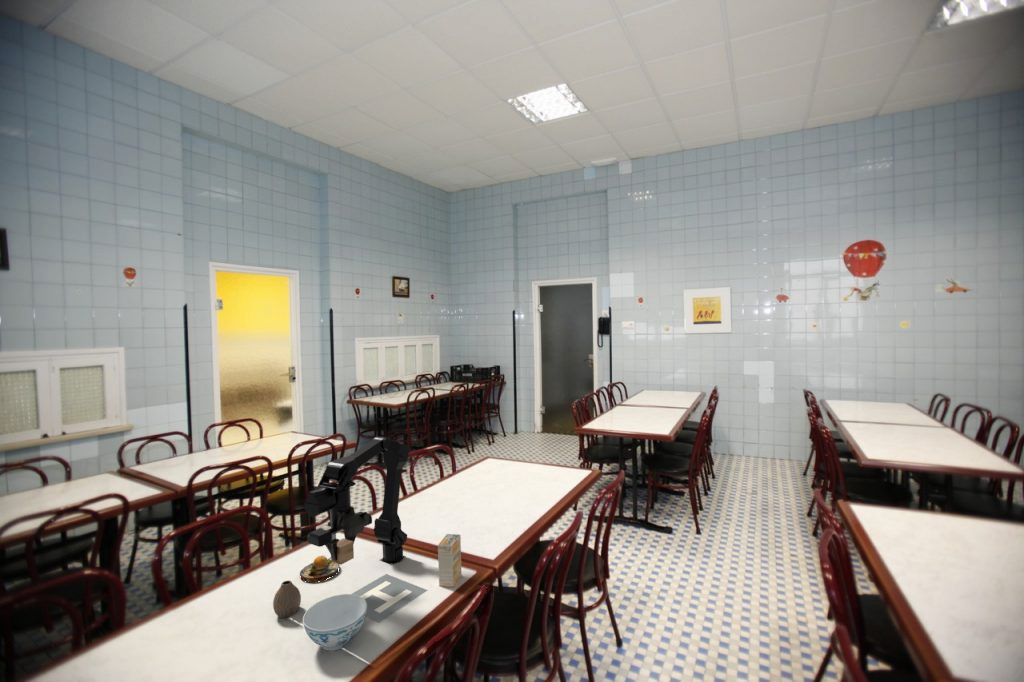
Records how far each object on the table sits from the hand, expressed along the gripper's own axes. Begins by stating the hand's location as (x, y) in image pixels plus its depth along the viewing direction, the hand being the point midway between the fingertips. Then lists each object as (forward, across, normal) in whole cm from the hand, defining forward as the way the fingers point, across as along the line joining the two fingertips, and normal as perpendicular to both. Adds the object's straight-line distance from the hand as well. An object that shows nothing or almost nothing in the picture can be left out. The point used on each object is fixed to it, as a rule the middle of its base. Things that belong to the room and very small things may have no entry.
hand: (342, 556), depth 138 cm
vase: (+11, -14, +5) cm, 19 cm away
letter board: (+11, +4, -12) cm, 17 cm away
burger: (+12, +4, +17) cm, 21 cm away
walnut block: (+1, 0, 0) cm, 1 cm away
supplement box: (+11, +21, -24) cm, 34 cm away
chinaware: (+11, -15, -17) cm, 25 cm away
